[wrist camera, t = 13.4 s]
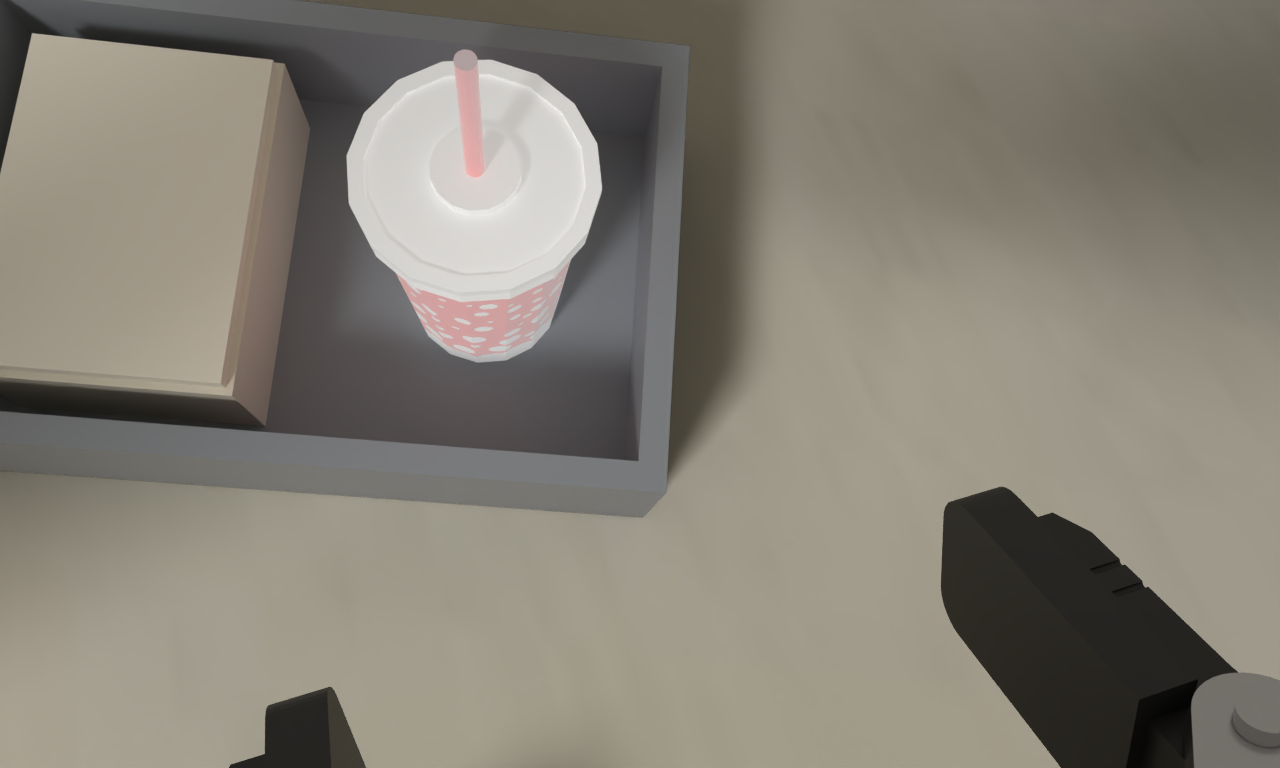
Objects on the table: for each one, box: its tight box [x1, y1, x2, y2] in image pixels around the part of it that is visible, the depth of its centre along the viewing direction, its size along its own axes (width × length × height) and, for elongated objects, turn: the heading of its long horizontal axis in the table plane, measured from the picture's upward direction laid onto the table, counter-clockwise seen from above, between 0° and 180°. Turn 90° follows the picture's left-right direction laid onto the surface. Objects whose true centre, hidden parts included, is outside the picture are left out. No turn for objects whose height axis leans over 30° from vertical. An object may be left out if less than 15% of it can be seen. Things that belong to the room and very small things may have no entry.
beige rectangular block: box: [0, 33, 310, 426], centre depth 31 cm, size 7×10×4 cm
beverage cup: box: [346, 49, 602, 363], centre depth 28 cm, size 6×6×14 cm
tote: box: [0, 0, 690, 518], centre depth 32 cm, size 21×14×6 cm, turn 87°
